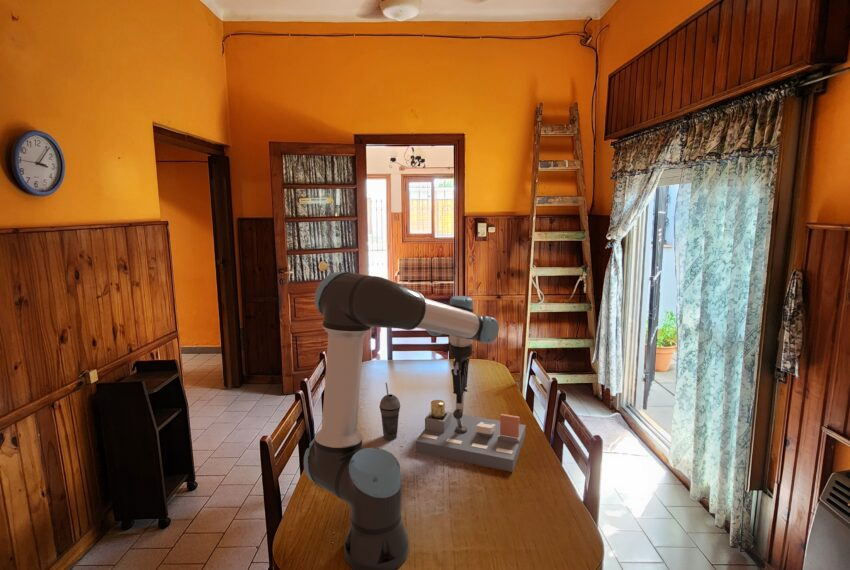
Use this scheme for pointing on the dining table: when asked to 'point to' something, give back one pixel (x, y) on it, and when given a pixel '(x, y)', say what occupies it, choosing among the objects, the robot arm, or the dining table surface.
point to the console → (470, 442)
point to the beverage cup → (389, 415)
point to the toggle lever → (458, 417)
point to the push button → (438, 409)
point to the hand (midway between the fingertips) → (460, 410)
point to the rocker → (485, 428)
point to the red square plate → (509, 425)
